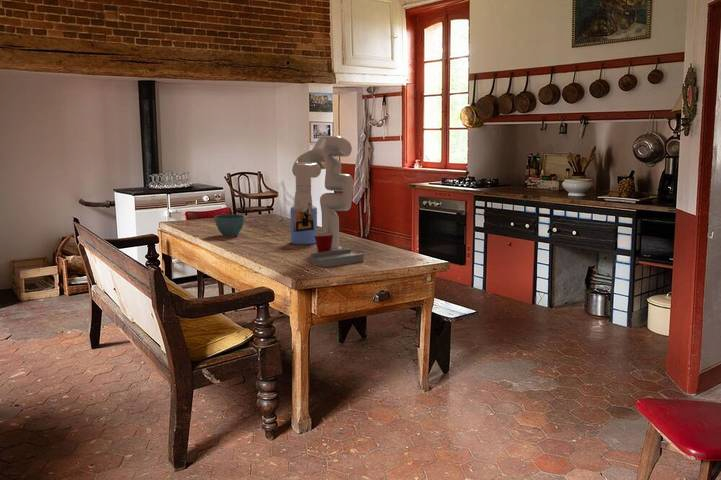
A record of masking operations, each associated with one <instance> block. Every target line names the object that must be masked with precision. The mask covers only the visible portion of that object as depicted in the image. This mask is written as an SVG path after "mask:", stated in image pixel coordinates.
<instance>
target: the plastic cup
mask: <svg viewBox="0 0 721 480" xmlns="http://www.w3.org/2000/svg"><path fill="white" fill-rule="evenodd" d="M333 234H334V233H322V232H320V233H319V232H318V233H317V234H314V237H315V240H316V243H315V244H316V249H317V253H319V252H326V251H330V250H331V244H332V239H333Z"/></svg>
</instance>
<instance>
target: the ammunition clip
mask: <svg viewBox="0 0 721 480" xmlns="http://www.w3.org/2000/svg"><path fill="white" fill-rule="evenodd" d="M305 212H306V211H305ZM305 214H306V213H305ZM302 218H303V212H301V215H300V211H299V208H298V215H297V208H295V221H294V232H300V231H308V230H314V222H313V213H312V211H311V215H309V218H308V226H302Z"/></svg>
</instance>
